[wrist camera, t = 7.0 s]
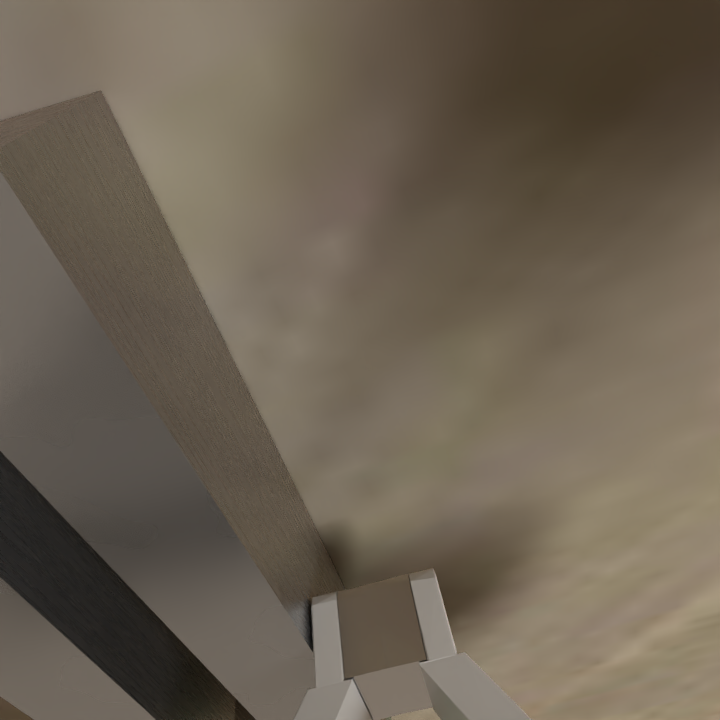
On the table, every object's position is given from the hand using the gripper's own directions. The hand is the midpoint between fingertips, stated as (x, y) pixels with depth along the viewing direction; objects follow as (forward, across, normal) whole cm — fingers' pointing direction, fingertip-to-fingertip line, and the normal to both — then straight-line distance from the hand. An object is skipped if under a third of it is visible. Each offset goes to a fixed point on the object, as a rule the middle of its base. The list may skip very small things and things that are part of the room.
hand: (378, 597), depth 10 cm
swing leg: (+2, +2, -1) cm, 3 cm away
